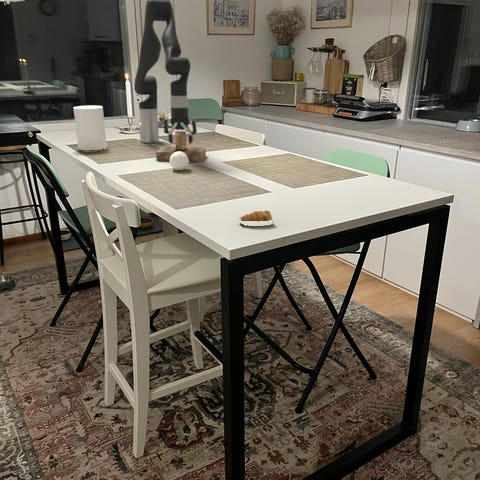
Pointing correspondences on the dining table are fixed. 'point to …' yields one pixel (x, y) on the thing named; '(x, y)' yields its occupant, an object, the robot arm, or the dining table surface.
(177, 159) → the ball
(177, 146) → the peg
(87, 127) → the canister
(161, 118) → the passion flower
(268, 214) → the pastry
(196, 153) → the board
